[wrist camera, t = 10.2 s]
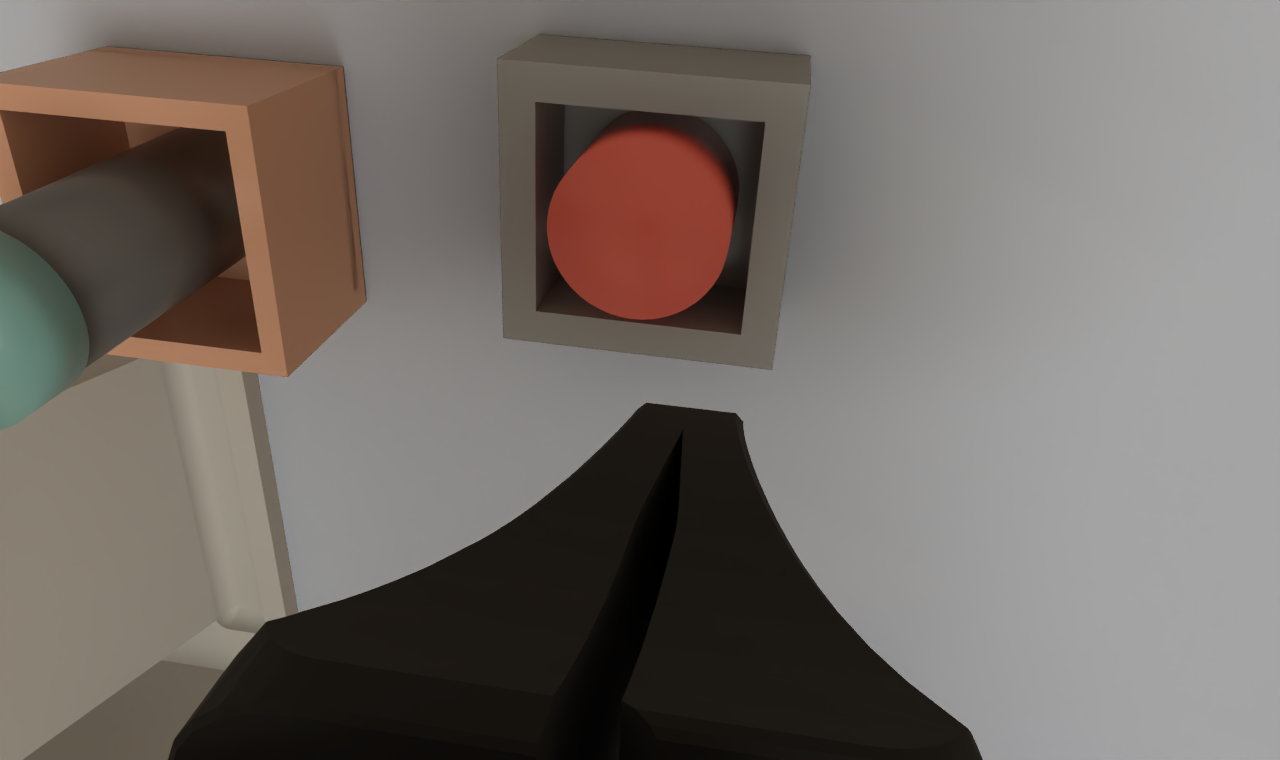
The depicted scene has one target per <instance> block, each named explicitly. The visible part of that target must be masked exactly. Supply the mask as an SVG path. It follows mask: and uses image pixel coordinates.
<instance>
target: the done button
mask: <svg viewBox="0 0 1280 760" xmlns="http://www.w3.org/2000/svg"><path fill="white" fill-rule="evenodd" d="M738 201H739V177H738V173H737V168H736V165H735V162H734V160H733V157H732V155H731V153H730V151H729V149H728V148H727V146H726V145H725V143H724V142H723V140H722V139H721V138H720V137H719V136H718V135H717V133H716V132H715V131H714V130H713V129H711V128H710V127H709V126H708V125H706V124H705V123H704V122H702V121H701V120H699V119H697V118H696V117H694V116H689V115H678V114H666V113H655V112H644V111H633V112H630V113H627V114H625V115H623V116H621V117H619V118H617V119H616V120H614V121H612V122H611V123H610V124H609V125H607V126H606V127H605V128H604V129H603V130H602V131H601V132H600V133H599V134H598V135H597V136H596V137H595V139H594V140H593V141H592V142H591V144H590V145H589V146H588V147H587V148H586V150H585V151H584V152H583V153H582V155H581V156H580V157H579V158H578V159H577V161H576V162H575V163H574V164H573V166H572V167H571V168H570V169H569V170H568V172H567V173H566V174H565V176H564V177H563V178H562V180H561V181H560V182H559V184H558V186H557V188H556V190H555V192H554V194H553V197H552V200H551V202H550V206H549V211H548V217H547V236H548V242H549V247H550V251H551V254H552V257H553V260H554V262H555V264H556V266H557V268H558V270H559V272H560V273H561V275H562V276H563V278H564V279H565V281H566V282H567V283H568V284H569V286H570V287H571V288H572V289H573V290H574V291H575V292H576V293H577V294H578V295H579V296H580V297H582V298H583V299H584V300H586V301H587V302H588V303H590V304H591V305H593V306H595V307H597V308H598V309H600V310H603V311H605V312H607V313H609V314H612V315H616V316H619V317H623V318H629V319H640V320H647V319H657V318H662V317H667V316H670V315H673V314H676V313H678V312H681V311H683V310H685V309H687V308H688V307H690V306H691V305H693V304H695V303H696V302H697V301H698V300H700V299H701V298H702V297H703V296H704V295H705V294H706V293H707V292H708V291H709V290H710V289H711V287H712V286H713V285H714V283H715V282H716V280H717V279H718V277H719V275H720V273H721V271H722V269H723V266H724V263H725V260H726V257H727V253H728V248H729V244H730V239H731V234H732V230H733V225H734V221H735V216H736V211H737V207H738Z"/></svg>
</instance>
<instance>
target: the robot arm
mask: <svg viewBox="0 0 1280 760" xmlns="http://www.w3.org/2000/svg"><path fill="white" fill-rule="evenodd" d="M168 760H983V759H982V757H981V754H980V752H979V750H978V747H977V745H976V743H975V740H974V738H973V736H972V734H971V732H970V731H969V729H968V728H967V727H965V726H964V725H963V724H961V723H960V722H959V721H957V720H956V719H955V718H954V717H952V716H951V715H950V714H948V713H947V712H946V711H945V710H943V709H942V708H941V707H939V706H938V705H937V704H935V703H934V702H933V701H932V700H930V699H929V698H928V697H926V696H925V695H924V694H923V693H921V692H920V691H919V690H917V689H916V688H915V687H914V686H912V685H911V684H910V683H908V682H907V681H906V680H905V679H904V678H903V677H902V676H900V675H899V674H898V673H897V672H896V671H895V670H894V669H893V668H892V667H891V666H890V665H888V664H887V663H886V662H885V661H884V660H883V659H882V658H881V657H880V656H879V655H878V654H877V653H875V652H874V651H873V650H872V649H871V648H870V647H869V646H868V645H867V644H866V642H865V641H864V640H863V639H862V638H861V637H860V636H859V635H858V634H857V633H856V631H855V630H854V629H853V628H852V627H851V626H850V625H849V624H848V623H847V622H846V621H845V619H844V618H843V617H842V616H841V615H840V614H839V613H838V612H837V610H836V609H835V608H834V607H833V605H832V604H831V603H830V601H829V600H828V599H827V598H826V596H825V595H824V594H823V592H822V591H821V590H820V588H819V587H818V586H817V584H816V583H815V581H814V580H813V579H812V577H811V576H810V574H809V573H808V571H807V570H806V569H805V567H804V566H803V564H802V563H801V561H800V559H799V558H798V556H797V555H796V553H795V551H794V550H793V548H792V546H791V545H790V543H789V541H788V540H787V538H786V536H785V534H784V532H783V530H782V529H781V527H780V525H779V523H778V521H777V519H776V517H775V515H774V513H773V511H772V509H771V507H770V505H769V503H768V501H767V499H766V496H765V494H764V492H763V489H762V487H761V485H760V483H759V480H758V478H757V475H756V473H755V470H754V467H753V464H752V461H751V458H750V455H749V452H748V449H747V445H746V441H745V436H744V430H743V421H742V420H741V419H740V418H739V416H738V415H737V414H736V413H729V412H720V411H712V410H703V409H695V408H686V407H678V406H669V405H660V404H652V403H646V404H644V405H643V406H641V407H640V408H639V409H637V411H636V412H635V413H634V414H633V415H632V416H631V417H630V418H629V420H628V421H627V422H626V423H625V424H624V425H623V426H622V427H621V428H620V429H619V430H618V431H617V432H616V433H615V434H614V435H613V436H612V437H611V438H610V439H609V440H608V441H607V442H606V443H605V444H604V445H603V446H602V447H601V448H600V449H599V450H598V451H597V452H596V453H595V454H594V455H593V456H592V457H591V458H590V459H589V460H587V461H586V462H585V463H584V464H583V465H582V466H581V467H580V468H579V469H578V470H577V471H576V472H574V473H573V474H572V475H571V476H570V477H569V478H567V479H566V480H565V481H564V482H563V483H561V484H560V485H559V486H558V487H556V488H555V489H554V490H553V491H551V492H550V493H549V494H548V495H546V496H545V497H544V498H543V499H541V500H540V501H539V502H538V503H536V504H535V505H534V506H532V507H531V508H530V509H528V510H527V511H525V512H524V513H523V514H521V515H520V516H518V517H517V518H515V519H514V520H512V521H511V522H509V523H508V524H506V525H505V526H503V527H501V528H500V529H498V530H497V531H495V532H494V533H492V534H490V535H488V536H487V537H485V538H483V539H481V540H480V541H478V542H476V543H474V544H472V545H470V546H468V547H466V548H464V549H462V550H460V551H458V552H456V553H454V554H452V555H450V556H448V557H446V558H444V559H442V560H440V561H438V562H436V563H435V564H433V565H431V566H428V567H426V568H424V569H422V570H419V571H417V572H415V573H412V574H410V575H408V576H405V577H403V578H400V579H398V580H396V581H393V582H390V583H388V584H385V585H383V586H380V587H377V588H375V589H372V590H369V591H367V592H364V593H361V594H358V595H355V596H352V597H349V598H347V599H344V600H340V601H337V602H333V603H330V604H327V605H323V606H320V607H316V608H313V609H310V610H306V611H303V612H299V613H296V614H293V615H289V616H286V617H282V618H278V619H274V620H270V621H267V622H265V624H264V625H263V626H262V627H261V628H260V629H259V631H258V632H257V633H256V634H255V635H254V636H253V637H252V638H251V640H250V641H249V642H248V643H247V644H246V645H245V646H244V647H243V648H242V650H241V651H240V652H239V653H238V654H237V655H236V657H235V658H234V659H233V660H232V662H231V663H230V664H229V666H228V667H227V668H226V670H225V671H224V672H223V674H222V675H221V676H220V677H219V679H218V680H217V682H216V683H215V684H214V686H213V687H212V688H211V690H210V691H209V692H208V694H207V695H206V697H205V698H204V699H203V701H202V702H201V703H200V705H199V706H198V707H197V709H196V710H195V711H194V713H193V714H192V716H191V717H190V718H189V720H188V721H187V722H186V724H185V725H184V726H183V728H182V729H181V731H180V732H179V733H178V735H177V736H176V737H175V739H174V741H173V744H172V747H171V751H170V754H169V757H168Z"/></svg>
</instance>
